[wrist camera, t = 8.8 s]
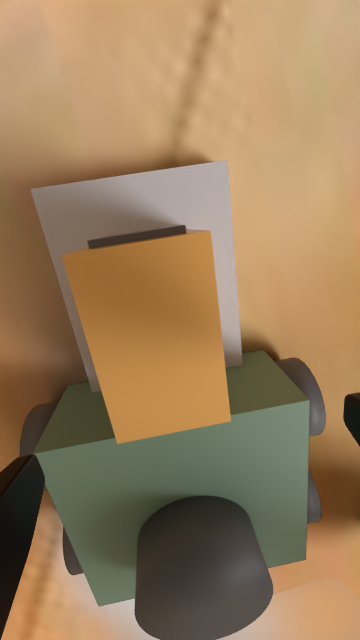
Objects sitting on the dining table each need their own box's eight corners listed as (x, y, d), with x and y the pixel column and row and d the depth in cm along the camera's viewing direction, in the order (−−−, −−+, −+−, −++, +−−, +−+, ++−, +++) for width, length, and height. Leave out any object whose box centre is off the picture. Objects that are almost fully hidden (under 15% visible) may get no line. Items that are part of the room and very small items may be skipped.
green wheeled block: (281, 157, 15) (443, 72, 7) (286, 476, 24) (361, 614, 15) (-27, 202, 14) (-272, 169, 6) (92, 517, 23) (59, 686, 15)
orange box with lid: (186, 223, 15) (209, 221, 9) (204, 358, 17) (230, 421, 12) (94, 238, 14) (58, 246, 9) (128, 372, 17) (117, 444, 12)
